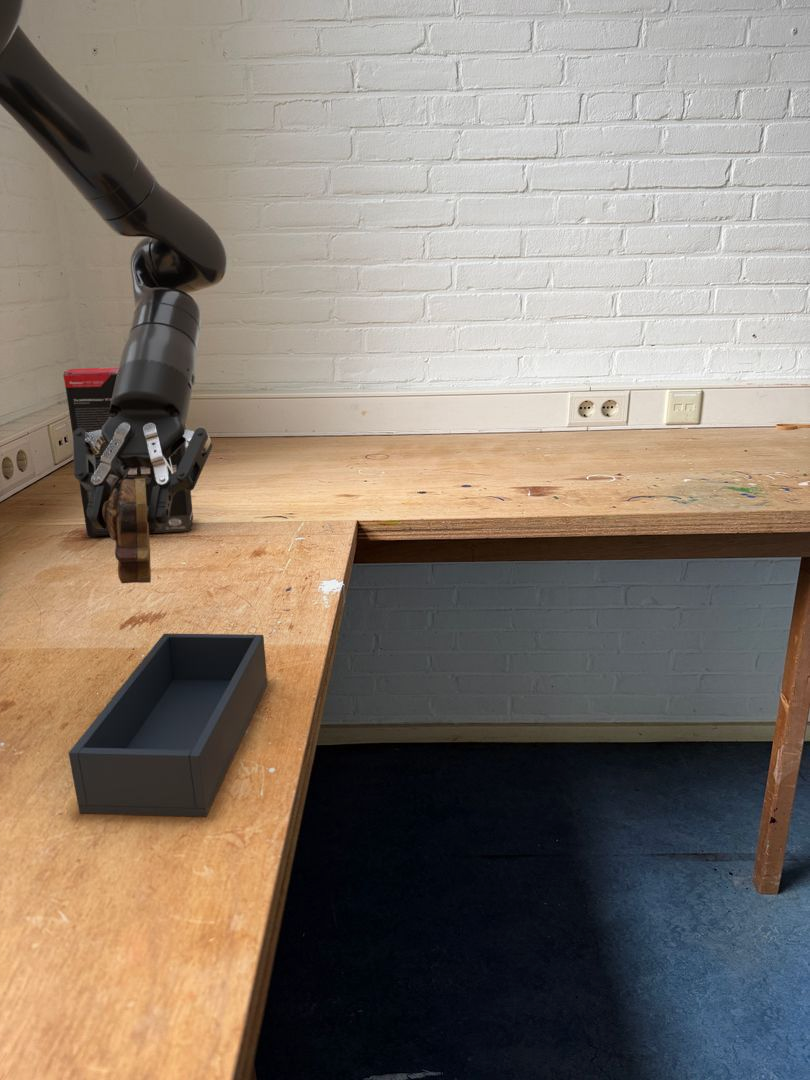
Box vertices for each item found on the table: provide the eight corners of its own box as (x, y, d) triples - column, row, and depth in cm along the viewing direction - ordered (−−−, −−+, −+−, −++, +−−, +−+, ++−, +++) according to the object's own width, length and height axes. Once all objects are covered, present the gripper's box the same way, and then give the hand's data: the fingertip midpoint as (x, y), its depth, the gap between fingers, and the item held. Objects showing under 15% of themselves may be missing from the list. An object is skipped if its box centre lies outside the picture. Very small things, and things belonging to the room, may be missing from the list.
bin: (79, 813, 65) (67, 752, 63) (170, 682, 85) (163, 633, 84) (206, 817, 64) (199, 755, 62) (267, 683, 85) (263, 634, 83)
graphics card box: (196, 520, 140) (179, 362, 131) (193, 533, 133) (174, 367, 124) (94, 527, 137) (69, 366, 128) (86, 540, 131) (59, 372, 122)
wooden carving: (112, 555, 86) (93, 465, 83) (155, 547, 88) (139, 459, 84) (121, 613, 72) (99, 507, 68) (173, 602, 73) (154, 498, 70)
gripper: (73, 357, 80) (34, 507, 73) (213, 356, 79) (188, 507, 72) (102, 401, 87) (69, 542, 80) (232, 400, 86) (210, 543, 79)
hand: (126, 524), depth 76 cm, fingers closed on wooden carving, 5 cm apart
